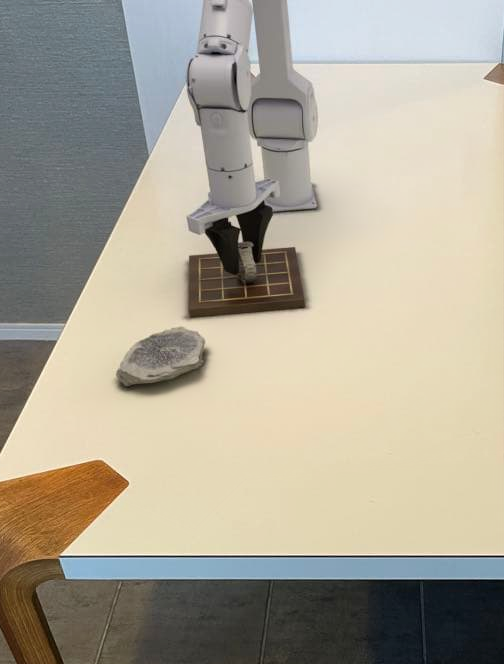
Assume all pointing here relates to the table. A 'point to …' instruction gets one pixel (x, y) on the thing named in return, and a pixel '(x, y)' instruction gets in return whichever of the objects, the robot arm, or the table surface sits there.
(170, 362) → the fossil
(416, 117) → the table surface
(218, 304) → the board
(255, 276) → the wristwatch
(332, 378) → the table surface
